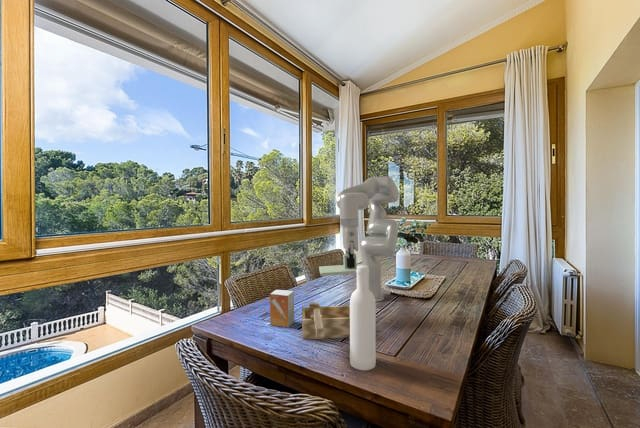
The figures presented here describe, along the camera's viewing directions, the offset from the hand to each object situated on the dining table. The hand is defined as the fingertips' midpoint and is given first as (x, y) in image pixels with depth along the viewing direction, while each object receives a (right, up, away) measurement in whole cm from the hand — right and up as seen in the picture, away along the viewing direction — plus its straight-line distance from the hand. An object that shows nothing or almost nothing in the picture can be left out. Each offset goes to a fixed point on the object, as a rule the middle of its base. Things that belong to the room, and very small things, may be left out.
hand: (350, 266), depth 123 cm
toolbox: (-9, -23, -10) cm, 27 cm away
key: (-13, -15, -27) cm, 34 cm away
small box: (-28, -23, -4) cm, 36 cm away
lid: (-3, -2, 0) cm, 3 cm away
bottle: (0, -24, -34) cm, 41 cm away
